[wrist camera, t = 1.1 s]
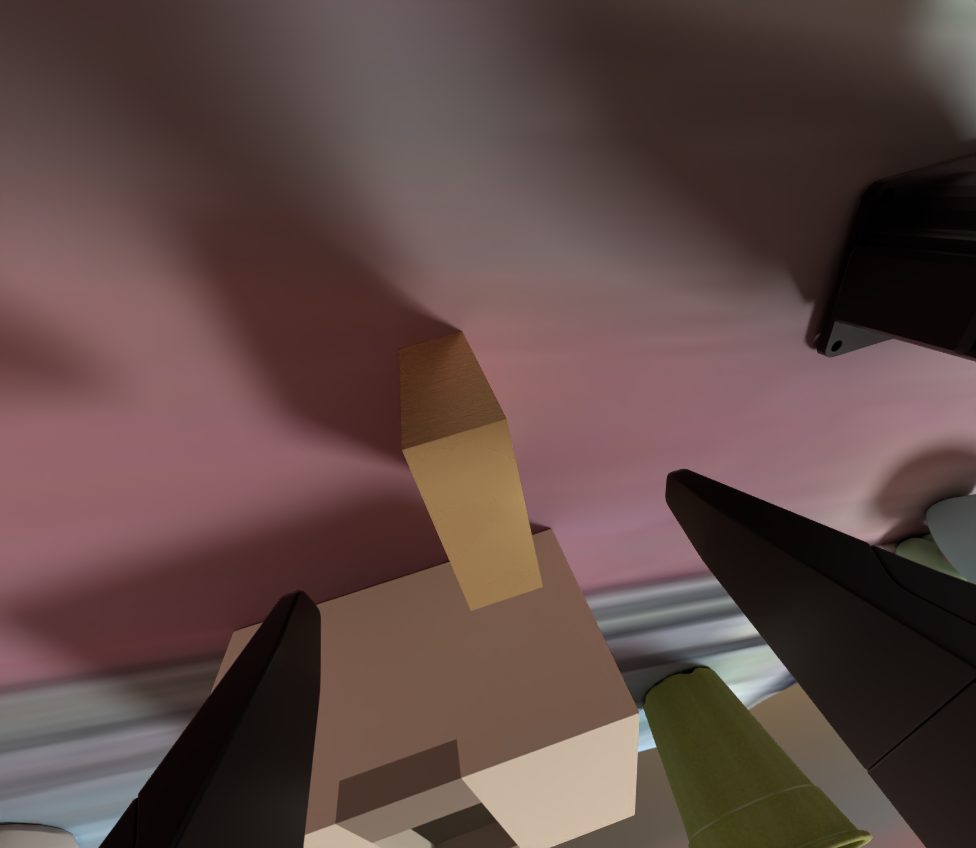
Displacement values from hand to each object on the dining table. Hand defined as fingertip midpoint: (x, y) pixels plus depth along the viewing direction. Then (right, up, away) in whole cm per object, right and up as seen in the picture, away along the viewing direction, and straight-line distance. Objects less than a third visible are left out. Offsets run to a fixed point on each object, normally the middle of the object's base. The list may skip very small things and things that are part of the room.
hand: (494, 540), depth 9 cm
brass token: (-1, +3, +5) cm, 6 cm away
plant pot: (+17, -21, +25) cm, 37 cm away
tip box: (-3, -11, +13) cm, 17 cm away
